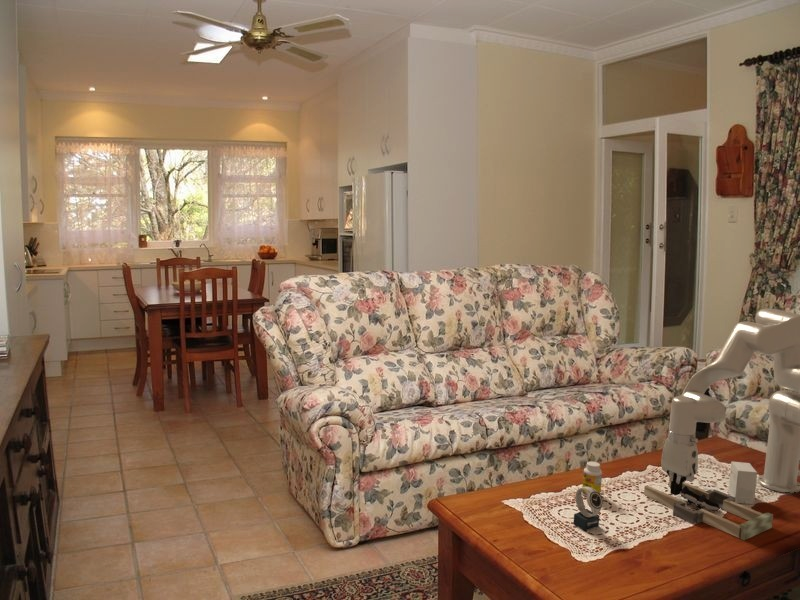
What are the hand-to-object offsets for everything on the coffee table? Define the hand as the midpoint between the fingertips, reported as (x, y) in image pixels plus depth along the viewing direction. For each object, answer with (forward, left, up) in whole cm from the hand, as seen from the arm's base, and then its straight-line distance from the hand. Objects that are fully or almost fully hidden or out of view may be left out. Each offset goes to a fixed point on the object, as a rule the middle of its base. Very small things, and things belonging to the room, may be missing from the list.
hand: (675, 493), depth 216 cm
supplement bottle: (+21, -15, -2) cm, 26 cm away
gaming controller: (-2, +7, -2) cm, 7 cm away
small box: (-18, +11, -2) cm, 21 cm away
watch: (+38, -2, -2) cm, 38 cm away
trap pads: (0, +10, -2) cm, 10 cm away
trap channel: (0, +10, -2) cm, 10 cm away
